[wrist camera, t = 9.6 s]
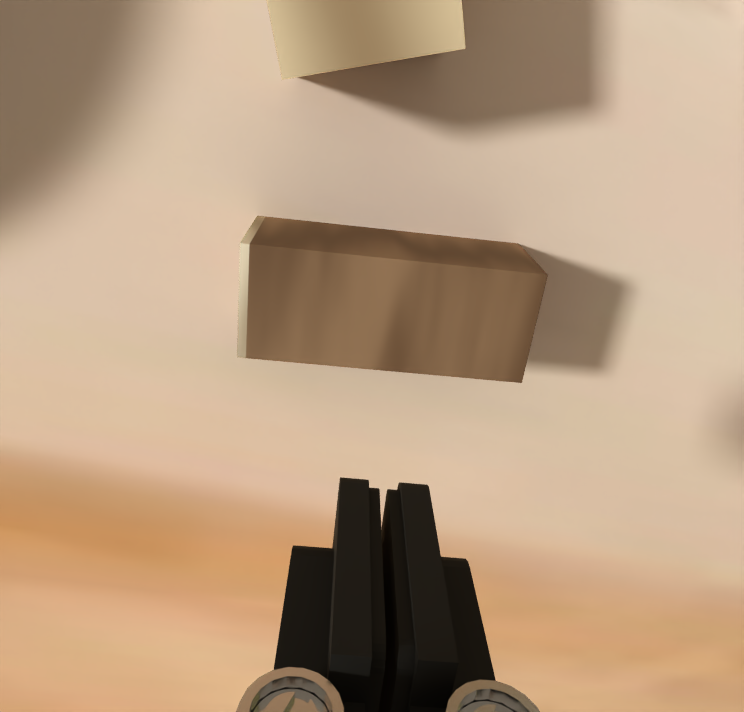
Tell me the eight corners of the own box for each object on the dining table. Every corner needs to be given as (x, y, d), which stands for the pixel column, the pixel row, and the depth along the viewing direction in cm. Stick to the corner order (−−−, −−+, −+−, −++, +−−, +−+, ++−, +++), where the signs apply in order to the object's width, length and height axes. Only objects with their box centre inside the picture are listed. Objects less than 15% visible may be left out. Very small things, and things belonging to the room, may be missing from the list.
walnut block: (257, 215, 23) (518, 243, 24) (253, 315, 25) (497, 338, 26) (239, 243, 20) (547, 274, 20) (237, 357, 21) (521, 382, 22)
